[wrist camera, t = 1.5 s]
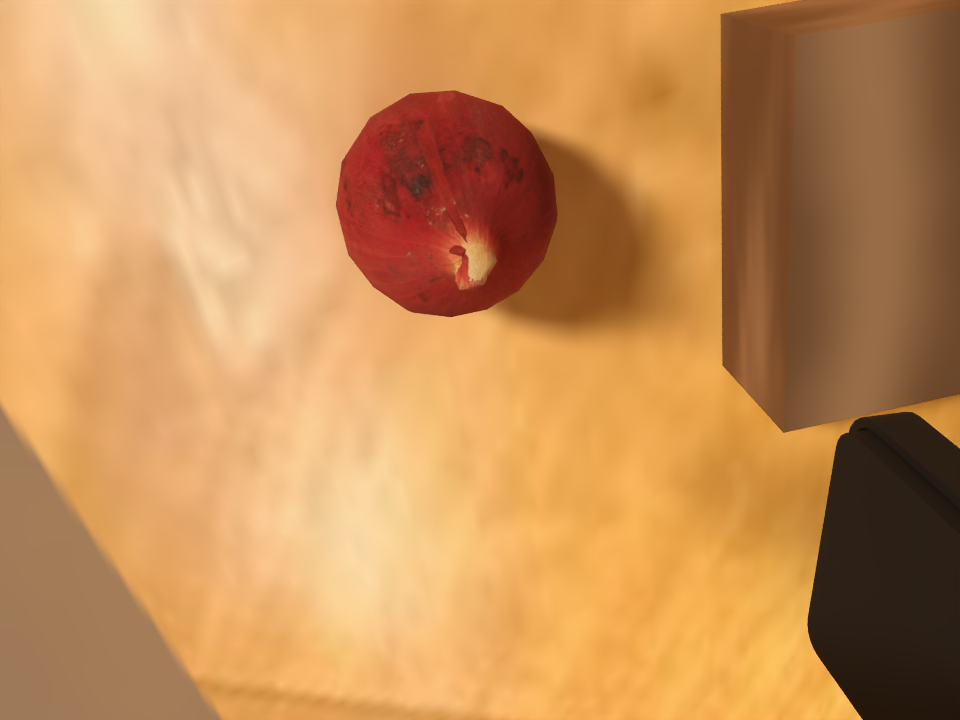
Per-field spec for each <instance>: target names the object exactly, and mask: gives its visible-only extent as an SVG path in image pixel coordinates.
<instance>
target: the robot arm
mask: <svg viewBox="0 0 960 720" xmlns="http://www.w3.org/2000/svg"><path fill="white" fill-rule="evenodd" d="M808 633H809V637H810V641H811V643H812V646H813V648H814V650H815V652H816V654H817V655H818V657H819V658H820V660H821V661H822V662H823V664H824V665H825V667H826V668H827V670H828V671H829V672H830V674H831V675H832V677H833V678H834V679H835V681H836V682H837V684H838V685H839V687H840V688H841V689H842V691H843V692H844V694H845V695H846V697H847V698H848V699H849V701H850V702H851V704H852V705H853V707H854V708H855V709H856V711H857V712H858V714H859V715H860V716H861V718H862V719H863V720H960V449H959V448H958V447H957V446H956V445H954V444H953V443H952V442H951V441H949V440H948V439H947V438H946V437H945V436H943V435H942V434H941V433H940V432H938V431H937V430H936V429H935V428H933V427H932V426H931V425H930V424H929V423H927V422H926V421H925V420H924V419H922V418H921V417H920V416H918V415H916V414H914V413H913V412H900V413H893V414H885V415H878V416H870V417H863V418H859V419H858V420H856V421H854V423H853V424H852V426H851V427H850V430H849V433H845V434H843V435H841V437H840V438H839V440H838V442H837V446H836V451H835V457H834V463H833V469H832V475H831V481H830V487H829V493H828V499H827V505H826V511H825V517H824V523H823V529H822V535H821V541H820V547H819V554H818V560H817V566H816V572H815V578H814V584H813V590H812V596H811V602H810V608H809V614H808Z"/></svg>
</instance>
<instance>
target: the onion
mask: <svg viewBox="0 0 960 720" xmlns="http://www.w3.org/2000/svg"><path fill="white" fill-rule="evenodd" d="M336 208H337V212H338V216H339V220H340V224H341V228H342V232H343V235H344V239H345V243H346V247H347V251H348V254H349V256H350V257H351V259H352V260H353V261H354V263H355V264H356V265H357V266H358V268H359V269H360V270H361V272H362V273H363V274H364V275H365V277H366V278H367V279H368V281H369V282H370V283H371V284H372V286H373V287H374V288H376V289H377V290H379V291H380V292H382V293H383V294H384V295H386V296H387V297H389V298H390V299H392V300H393V301H395V302H396V303H398V304H399V305H400V306H402V307H403V308H405V309H406V310H408V311H411V312H413V313H421V314H430V315H438V316H446V317H454V316H458V315H463V314H468V313H472V312H477V311H482V310H486V309H488V308H490V307H492V306H493V305H495V304H497V303H498V302H500V301H502V300H503V299H505V298H507V297H508V296H510V295H512V294H513V293H515V292H517V291H518V290H519V289H520V288H521V287H522V286H523V284H524V283H525V282H526V281H527V279H528V278H529V277H530V276H531V275H532V273H533V272H534V271H535V270H536V268H537V267H538V266H539V265H540V263H541V262H542V261H543V260H544V257H545V254H546V251H547V248H548V245H549V242H550V239H551V236H552V233H553V230H554V228H555V225H556V221H557V206H556V195H555V185H554V175H553V173H552V171H551V169H550V167H549V165H548V163H547V161H546V159H545V158H544V156H543V154H542V152H541V150H540V148H539V146H538V144H537V142H536V140H535V138H534V136H533V134H532V133H531V132H530V131H529V130H528V129H527V128H526V127H525V126H524V125H523V124H522V123H521V122H519V121H518V120H517V119H516V118H515V117H514V116H513V115H512V114H511V113H510V112H508V111H507V110H506V109H505V108H504V107H503V106H501V105H498V104H495V103H492V102H489V101H486V100H483V99H479V98H476V97H473V96H470V95H467V94H464V93H461V92H458V91H441V92H428V93H414V94H409V95H407V96H406V97H404V98H402V99H400V100H399V101H397V102H395V103H394V104H392V105H390V106H389V107H387V108H385V109H384V110H382V111H380V112H379V113H377V114H375V115H374V116H372V117H370V119H369V120H368V122H367V124H366V125H365V127H364V128H363V130H362V131H361V133H360V134H359V136H358V138H357V139H356V141H355V142H354V144H353V145H352V147H351V148H350V150H349V152H348V153H347V155H346V156H345V158H344V159H343V161H342V164H341V172H340V179H339V186H338V194H337V201H336Z"/></svg>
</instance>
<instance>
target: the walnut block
mask: <svg viewBox="0 0 960 720" xmlns="http://www.w3.org/2000/svg"><path fill="white" fill-rule="evenodd" d="M721 170H722V356H723V366H724V367H725V369H726V370H727V371H728V372H729V373H730V374H731V375H732V376H733V377H734V378H735V380H736V381H737V382H738V383H739V384H740V385H741V386H742V387H743V388H744V390H745V391H746V392H747V393H748V394H749V395H750V396H751V397H752V398H753V399H754V401H755V402H756V403H757V404H758V405H759V406H760V407H761V408H762V409H763V411H764V412H765V413H766V414H767V415H768V416H769V417H770V418H771V419H772V421H773V422H774V423H775V424H776V425H777V426H778V427H779V428H780V429H781V430H782V432H783V433H785V432H789V431H794V430H798V429H803V428H807V427H812V426H816V425H821V424H825V423H830V422H835V421H839V420H844V419H848V418H853V417H857V416H862V415H866V414H871V413H875V412H880V411H885V410H889V409H894V408H898V407H903V406H907V405H912V404H916V403H921V402H925V401H930V400H935V399H939V398H944V397H948V396H953V395H957V394H960V0H800V1H794V2H788V3H783V4H777V5H771V6H765V7H759V8H753V9H748V10H742V11H736V12H730V13H724V14H721Z"/></svg>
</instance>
